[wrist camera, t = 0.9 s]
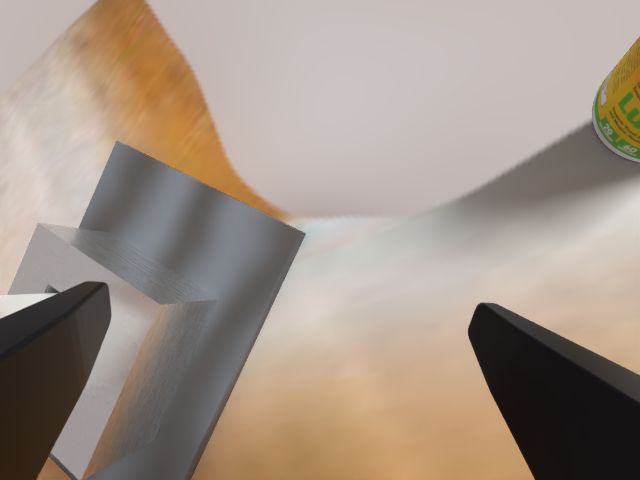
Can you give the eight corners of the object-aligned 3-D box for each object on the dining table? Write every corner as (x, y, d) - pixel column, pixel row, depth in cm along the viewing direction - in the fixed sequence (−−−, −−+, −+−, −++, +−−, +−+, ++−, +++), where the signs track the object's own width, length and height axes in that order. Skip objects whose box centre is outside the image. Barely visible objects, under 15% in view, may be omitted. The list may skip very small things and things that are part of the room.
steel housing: (218, 299, 23) (160, 304, 18) (153, 440, 24) (80, 481, 19) (111, 232, 26) (38, 222, 22) (56, 358, 27) (-28, 375, 22)
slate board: (305, 233, 23) (299, 231, 22) (159, 544, 24) (148, 555, 23) (127, 145, 28) (116, 140, 27) (14, 403, 29) (0, 408, 28)
